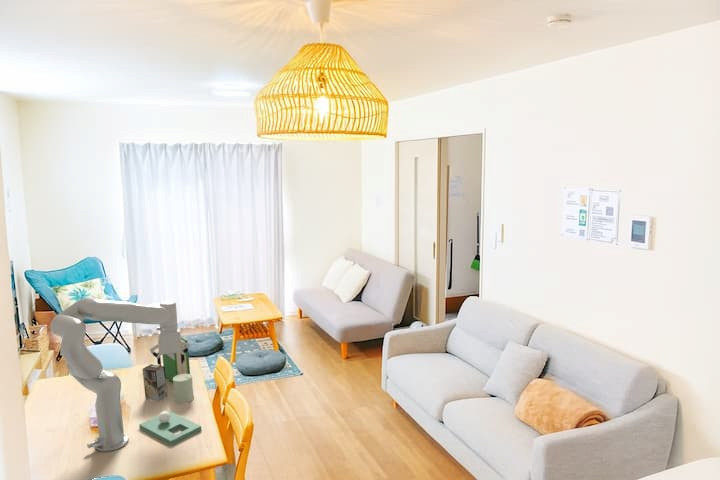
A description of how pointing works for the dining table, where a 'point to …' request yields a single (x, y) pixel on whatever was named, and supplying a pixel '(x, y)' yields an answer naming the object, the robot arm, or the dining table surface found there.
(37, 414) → the dining table surface
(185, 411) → the dining table surface
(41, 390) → the dining table surface
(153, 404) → the dining table surface
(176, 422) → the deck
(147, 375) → the coffee box
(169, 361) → the hardback book
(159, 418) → the ball
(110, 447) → the robot arm
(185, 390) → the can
